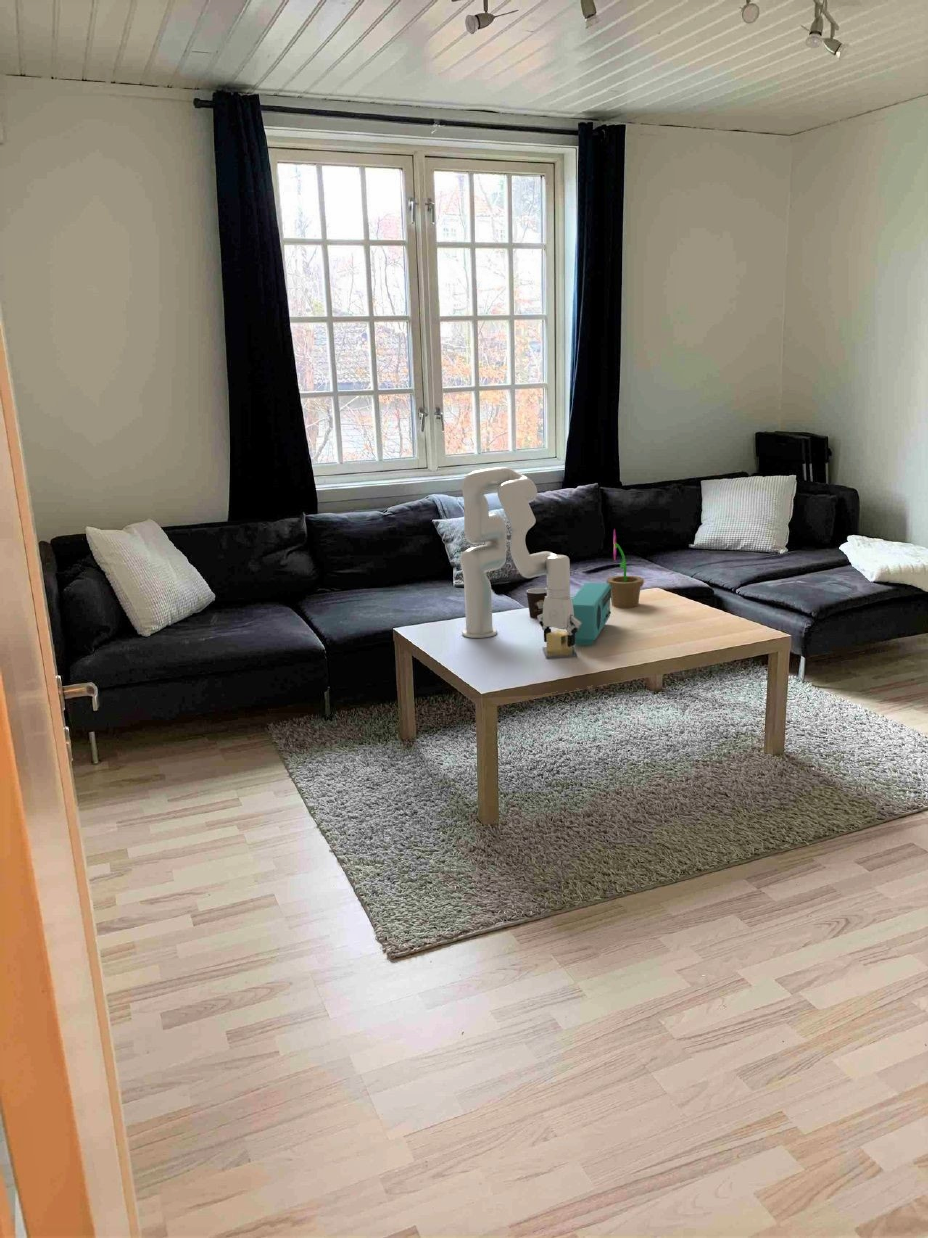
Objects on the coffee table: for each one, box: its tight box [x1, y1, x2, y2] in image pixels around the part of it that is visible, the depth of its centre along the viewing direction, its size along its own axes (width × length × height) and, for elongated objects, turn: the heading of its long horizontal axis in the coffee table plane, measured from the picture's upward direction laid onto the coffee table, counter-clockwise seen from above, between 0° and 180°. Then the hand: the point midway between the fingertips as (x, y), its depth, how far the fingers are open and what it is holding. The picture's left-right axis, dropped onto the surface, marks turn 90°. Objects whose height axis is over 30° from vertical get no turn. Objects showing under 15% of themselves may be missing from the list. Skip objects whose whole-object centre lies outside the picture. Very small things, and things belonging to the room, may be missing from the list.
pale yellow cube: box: [546, 629, 572, 654], centre depth 315 cm, size 6×6×6 cm
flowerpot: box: [606, 528, 645, 609], centre depth 371 cm, size 14×14×30 cm
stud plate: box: [542, 645, 578, 660], centre depth 315 cm, size 10×10×5 cm
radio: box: [570, 582, 612, 647], centre depth 334 cm, size 34×10×15 cm, turn 163°
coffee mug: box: [525, 587, 547, 619], centre depth 362 cm, size 12×9×10 cm
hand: (559, 643), depth 315 cm, fingers open, 9 cm apart
